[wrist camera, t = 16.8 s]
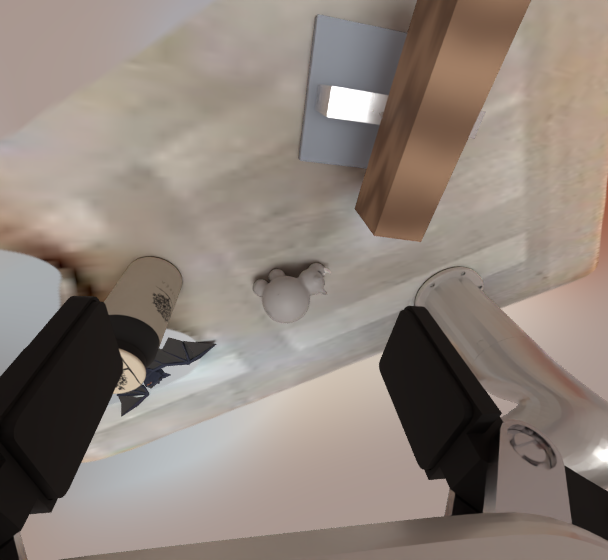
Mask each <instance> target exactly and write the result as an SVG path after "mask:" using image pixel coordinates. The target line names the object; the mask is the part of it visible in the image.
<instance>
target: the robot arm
mask: <svg viewBox="0 0 608 560" xmlns="http://www.w3.org/2000/svg"><path fill="white" fill-rule="evenodd" d="M483 289H484V284H483V280H482V278H481V277H480V275H478V274H477V273H476V272H475V271H474V270H472V269H469V268H465V267H454V268H450V269H446V270H444V271H441V272H439V273H438V274H436V275H434V276H433V277H431V278H430V279H429V280H428V281H427V282H425V283H424V285H423V286H422V287H421V288H420V290H419V292H418V294H417V296H416V299H415V306H407V307H406V308H405V309H404V310H402V311H400V313H399V316H398V318H397V320H396V323H395V325H394V328H393V330H392V333H391V335H390V337H389V340H388V342H387V345H386V347H385V350H384V352H383V355H382V357H381V359H380V363H379V369H380V372H381V375H382V377H383V380H384V382H385V385H386V387H387V390H388V392H389V394H390V397H391V399H392V402H393V404H394V407H395V409H396V411H397V414H398V416H399V419H400V421H401V424H402V426H403V429H404V431H405V434H406V436H407V438H408V441H409V443H410V446H411V448H412V451H413V453H414V456H415V458H416V461H417V463H418V465H419V466H420V468H422V469H424V470H425V472H426V475H427V477H428V479H429V480H434V479H445V478H446V481H447V483H448V485H449V487H450V489H449V494H448V499H447V505H446V510H445V515H444V517H433V518H423V519H414V520H404V521H395V522H385V523H377V524H367V525H357V526H347V527H339V528H329V529H320V530H311V531H302V532H293V533H284V534H276V535H266V536H258V537H249V538H239V539H230V540H222V541H212V542H203V543H196V544H186V545H178V546H169V547H161V548H152V549H143V550H135V551H126V552H117V553H109V554H100V555H91V556H84V557H77V558H69V559H61V560H608V491H606V490H605V489H606V488H608V402H607V401H605V400H604V399H603V398H601V397H600V396H599V395H597V394H596V393H594V392H593V391H592V390H590V389H589V388H588V387H587V386H585V385H584V384H583V383H581V382H580V381H579V380H578V379H576V378H575V377H574V376H572V375H571V374H570V373H569V372H568V371H566V370H565V369H564V368H563V367H562V366H561V365H559V364H558V363H557V362H556V361H555V360H554V359H553V358H552V357H551V356H550V355H548V354H547V353H546V352H545V351H544V350H543V349H542V348H541V347H540V346H539V345H538V344H537V343H536V342H534V340H532V339H531V338H530V337H529V336H528V335H527V334H526V333H525V332H524V331H523V330H522V329H521V328H520V327H519V326H518V325H517V324H516V323H515V322H514V321H513V320H512V319H510V317H508V316H507V315H506V314H505V313H504V312H503V311H502V310H501V309H500V308H499V307H498V306H497V305H496V304H495V303H494V302H493V301H492V300H491V299H490V298H489V297H488V296H487V295H486V294H485V293H484V292H483ZM122 372H123V361H122V358H121V354H120V351H119V348H118V344H117V341H116V338H115V334H114V331H113V328H112V324H111V321H110V318H109V314H108V311H107V308H106V305H105V303H104V302H100V301H99V299H98V298H97V297H93V296H72V297H70V298H69V299H68V300H67V301H66V302H65V303H64V304H63V306H62V307H61V308H60V309H59V310H58V311H57V312H56V314H55V315H54V316H53V317H52V318H51V319H50V321H49V322H48V323H47V324H46V325H45V326H44V328H43V329H42V330H41V331H40V332H39V333H38V335H37V336H36V337H35V338H34V339H33V340H32V342H31V343H30V344H29V345H28V346H27V347H26V348H25V349H24V350H23V351H22V352H21V353H20V355H19V356H18V357H17V358H16V359H15V360H14V362H13V363H12V364H11V365H10V366H9V367H8V368H7V370H6V371H5V372H4V373H3V374H2V375H1V376H0V560H27V556H26V552H25V548H24V545H23V541H22V537H21V534H20V531H21V529H22V527H23V526H24V524H25V522H26V520H27V518H28V516H29V514H37V513H49V512H52V509H53V507H54V505H55V503H56V501H57V499H58V498H62V497H63V496H64V495H65V494H66V493H67V491H68V489H69V488H70V485H71V483H72V481H73V479H74V477H75V475H76V473H77V470H78V468H79V466H80V464H81V462H82V460H83V457H84V455H85V453H86V451H87V449H88V447H89V444H90V442H91V440H92V438H93V436H94V434H95V431H96V429H97V427H98V425H99V423H100V421H101V418H102V416H103V414H104V412H105V410H106V408H107V405H108V403H109V401H110V399H111V397H112V394H113V392H114V390H115V388H116V386H117V384H118V382H119V379H120V377H121V375H122ZM486 391H487V392H489V393H490V394H492V395H495V396H497V397H499V398H502V399H504V400H508V401H511V402H514V403H517V404H518V406H517V407H516V408H514V409H513V410H511V411H510V412H509V413H508V414H506V415H504V416H503V417H501V418H500V415H501V414H502V413H501V411H500V410H499V409H498V407H497V406H496V404H495V403H494V402H493V400H492V399H491V398H490V396H489V395H488V393H487V392H486Z"/></svg>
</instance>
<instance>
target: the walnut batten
mask: <svg viewBox="0 0 608 560" xmlns="http://www.w3.org/2000/svg"><path fill="white" fill-rule="evenodd" d="M530 2H531V0H417V3H416V6H415V9H414V13H413V16H412V19H411V23H410V26H409V29H408V33H407V36H406V39H405V43H404V46H403V49H402V53H401V56H400V59H399V63H398V66H397V69H396V73H395V76H394V79H393V83H392V86H391V89H390V93H389V96H388V99H387V103H386V106H385V109H384V113H383V116H382V119H381V123H380V126H379V129H378V133H377V136H376V139H375V143H374V146H373V149H372V153H371V156H370V159H369V163H368V166H367V169H366V173H365V176H364V179H363V183H362V186H361V189H360V193H359V196H358V199H357V203H356V206H355V210H356V211H357V213H358V214H359V215H360V217H361V218H362V220H363V221H364V222H365V224H366V225H367V226H368V228H369V229H370V231H371V232H372V233H373V235H374V236H380V237H388V238H395V239H403V240H411V241H418V242H421V241H422V238H423V236H424V234H425V232H426V230H427V227H428V225H429V223H430V221H431V219H432V216H433V214H434V212H435V210H436V208H437V205H438V203H439V201H440V199H441V197H442V195H443V192H444V190H445V188H446V186H447V184H448V181H449V179H450V177H451V175H452V173H453V170H454V168H455V166H456V164H457V162H458V159H459V157H460V155H461V153H462V151H463V148H464V146H465V144H466V142H467V140H468V138H469V135H470V133H471V131H472V129H473V127H474V124H475V122H476V120H477V118H478V116H479V113H480V111H481V109H482V107H483V105H484V102H485V100H486V98H487V96H488V94H489V91H490V89H491V87H492V85H493V83H494V81H495V78H496V76H497V74H498V72H499V70H500V67H501V65H502V63H503V61H504V59H505V56H506V54H507V52H508V50H509V48H510V45H511V43H512V41H513V39H514V37H515V34H516V32H517V30H518V28H519V26H520V24H521V21H522V19H523V17H524V15H525V13H526V10H527V8H528V6H529V4H530Z"/></svg>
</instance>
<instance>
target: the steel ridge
mask: <svg viewBox="0 0 608 560" xmlns="http://www.w3.org/2000/svg"><path fill="white" fill-rule="evenodd" d="M388 96H389V95H383V94H377V93H371V92H365V91H359V90H353V89H347V88H341V87H335V86H328V85H321V84H318V90H317V98H316V105H315V110H316V111H318V112H319V113H321V114H323V115H324V116H326V117H330V118H337V119H344V120H350V121H357V122H364V123H371V124H378V125H380V123H381V119H382V116H383V113H384V109H385V106H386V103H387V99H388ZM484 115H485V111H480V113H479V116H478V118H477V120H476V122H475V124H474V127H473V129H472V131H471V133H470V135H469V138H473V139H475V136H476V134H477V131H478V129H479V127H480V124H481V122H482V119H483V117H484Z"/></svg>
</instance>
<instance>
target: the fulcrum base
mask: <svg viewBox="0 0 608 560" xmlns="http://www.w3.org/2000/svg"><path fill="white" fill-rule="evenodd" d="M406 36H407V33H405V32H400V31H395V30H390V29H386V28H381V27H376V26H371V25H367V24H362V23H357V22H352V21H348V20H343V19H338V18H333V17H329V16H324V15H319V14H318V15H317V16H316V18H315V26H314V35H313V43H312V51H311V60H310V68H309V76H308V84H307V93H306V101H305V109H304V118H303V126H302V134H301V143H300V151H299V160H300V161H307V162H316V163H324V164H333V165H341V166H350V167H358V168H367V166H368V163H369V159H370V156H371V153H372V149H373V146H374V143H375V139H376V136H377V133H378V129H379V126H380V125H378V124H371V123H364V122H357V121H350V120H344V119H337V118H330V117H326V116H324V115H323V114H321V113H319V112H318V111H316V110H315V105H316V98H317V90H318V84H321V85H328V86H335V87H341V88H347V89H353V90H359V91H365V92H371V93H377V94H383V95H389V93H390V89H391V86H392V83H393V79H394V76H395V73H396V69H397V66H398V63H399V59H400V56H401V53H402V49H403V46H404V43H405V39H406Z"/></svg>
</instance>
